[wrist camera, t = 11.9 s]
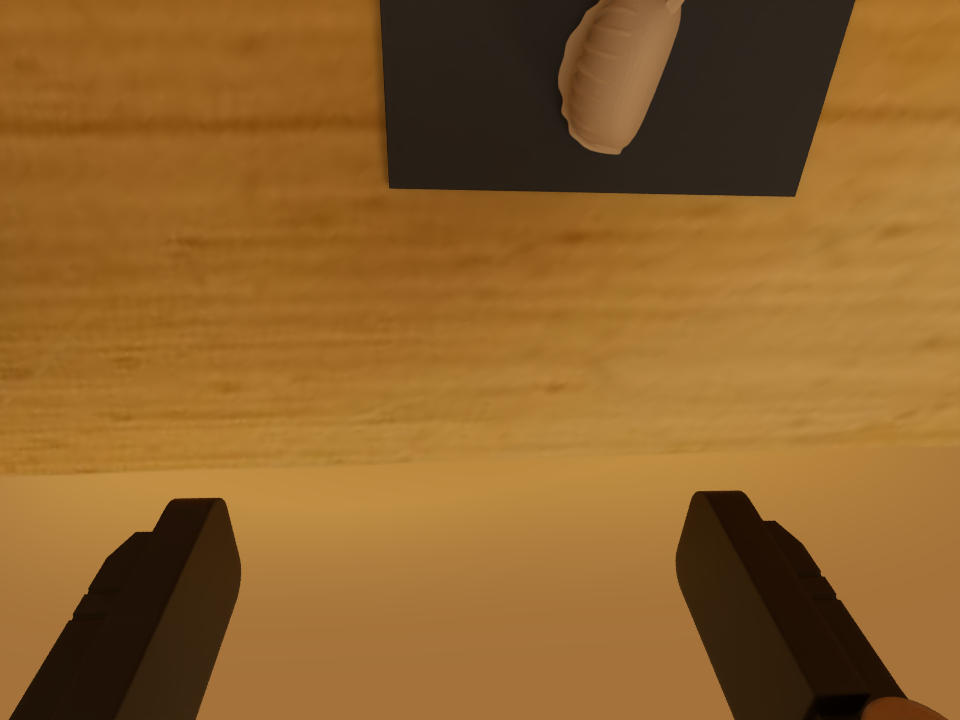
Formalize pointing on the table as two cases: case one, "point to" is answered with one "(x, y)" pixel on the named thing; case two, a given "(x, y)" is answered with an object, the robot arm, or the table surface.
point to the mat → (538, 101)
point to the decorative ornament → (615, 69)
